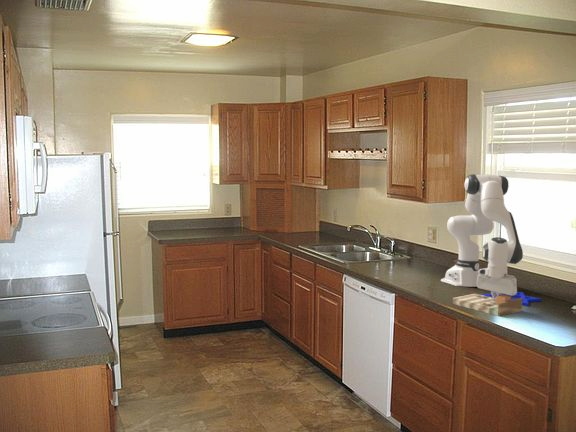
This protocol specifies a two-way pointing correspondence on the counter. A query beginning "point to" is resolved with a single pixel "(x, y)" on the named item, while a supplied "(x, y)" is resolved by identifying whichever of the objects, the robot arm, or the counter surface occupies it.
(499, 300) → the block
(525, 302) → the symbol
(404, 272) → the counter surface
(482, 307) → the board
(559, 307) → the counter surface
